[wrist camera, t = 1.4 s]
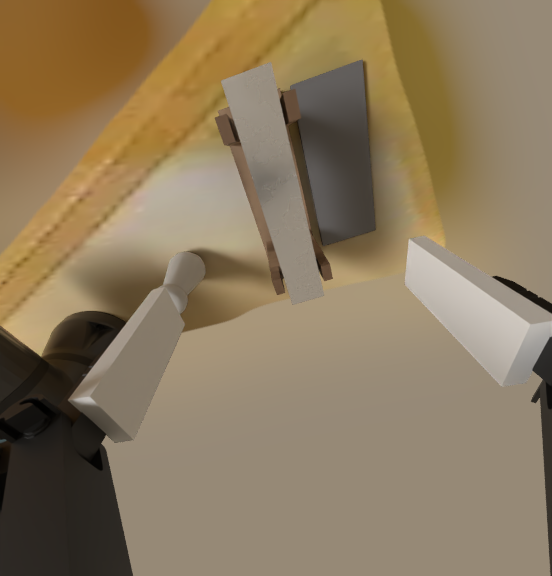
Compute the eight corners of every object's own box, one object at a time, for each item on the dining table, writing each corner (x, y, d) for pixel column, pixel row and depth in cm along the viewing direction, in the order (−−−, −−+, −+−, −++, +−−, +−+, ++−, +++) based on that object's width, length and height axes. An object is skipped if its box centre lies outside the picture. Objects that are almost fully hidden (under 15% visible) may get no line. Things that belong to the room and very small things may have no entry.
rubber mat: (322, 244, 41) (323, 246, 41) (290, 86, 30) (290, 85, 30) (374, 229, 41) (375, 230, 40) (360, 60, 29) (362, 59, 29)
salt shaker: (214, 260, 41) (200, 302, 30) (197, 283, 43) (177, 331, 32) (183, 240, 39) (155, 277, 28) (166, 265, 41) (133, 310, 30)
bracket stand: (269, 261, 42) (277, 309, 30) (219, 112, 31) (196, 89, 18) (314, 247, 42) (340, 290, 29) (278, 90, 30) (296, 52, 18)
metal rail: (288, 290, 33) (292, 304, 30) (225, 90, 21) (220, 80, 18) (317, 281, 32) (324, 295, 29) (268, 73, 21) (270, 62, 18)
